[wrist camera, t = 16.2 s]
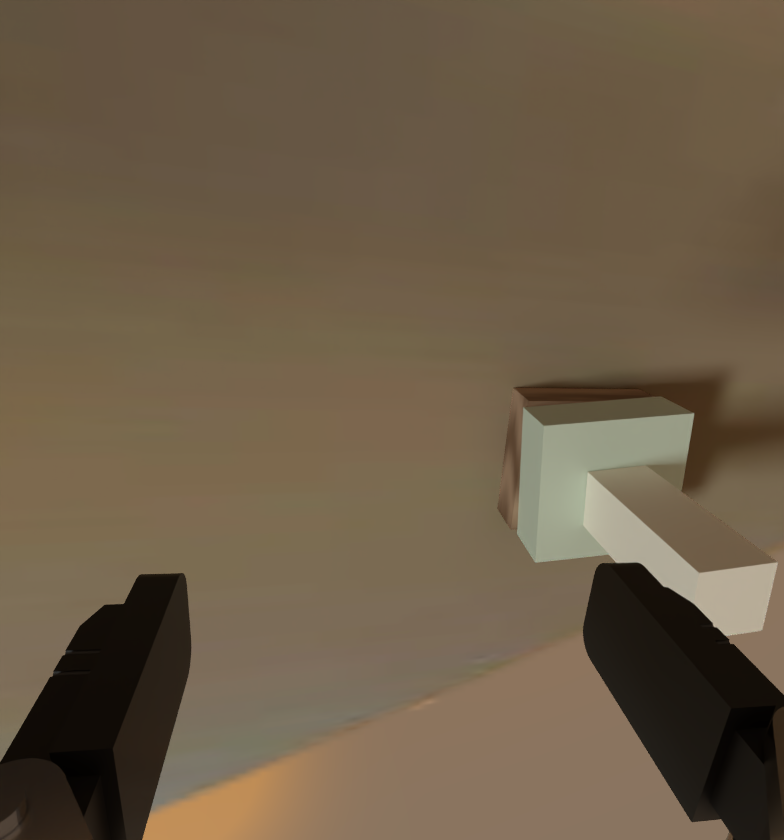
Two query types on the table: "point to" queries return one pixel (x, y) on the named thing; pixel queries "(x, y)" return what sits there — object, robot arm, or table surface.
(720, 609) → the cream post
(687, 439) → the sage block
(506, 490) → the walnut block
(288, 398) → the table surface
